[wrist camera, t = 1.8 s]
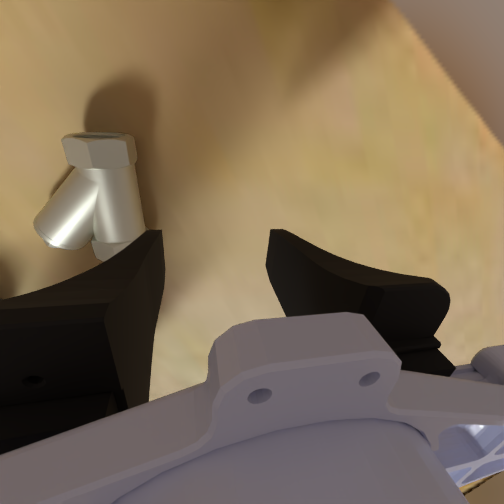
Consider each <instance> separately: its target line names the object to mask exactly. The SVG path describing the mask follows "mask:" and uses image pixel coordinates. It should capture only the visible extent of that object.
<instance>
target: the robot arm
mask: <svg viewBox="0 0 504 504" xmlns="http://www.w3.org/2000/svg"><path fill="white" fill-rule="evenodd" d="M266 269H267V273H268V276H269V280H270V282H271V285H272V287H273V289H274V291H275V294H276V296H277V298H278V300H279V302H280V304H281V306H282V308H283V311H284V313H285V315H286V317H282V318H271V319H259V320H252V321H249V322H245V323H242V324H238V325H234V326H232V327H231V328H230V329H228V330H227V331H226V332H225V333H223V334H222V335H221V336H219V337H218V338H217V339H216V340H215V341H214V343H213V346H212V348H211V351H210V353H209V356H208V375H207V379H206V381H205V382H203V383H200V384H197V385H195V386H192V387H189V388H186V389H183V390H181V391H178V392H175V393H172V394H169V395H167V396H164V397H161V398H158V399H155V400H153V401H150V402H149V389H150V376H151V364H152V353H153V343H154V334H155V328H156V323H157V319H158V314H159V309H160V305H161V300H162V295H163V290H164V282H165V260H164V248H163V237H162V230H146V231H145V232H144V233H143V234H141V235H140V236H139V237H138V238H137V239H135V240H134V241H133V242H132V243H130V244H129V245H128V246H127V247H125V248H124V249H123V250H121V251H120V252H118V253H117V254H115V255H114V256H113V257H111V258H110V259H108V260H106V261H105V262H103V263H101V264H99V265H98V266H96V267H94V268H92V269H90V270H88V271H86V272H84V273H81V274H79V275H77V276H75V277H72V278H70V279H68V280H65V281H63V282H60V283H58V284H55V285H52V286H49V287H46V288H43V289H40V290H37V291H34V292H31V293H27V294H24V295H20V296H16V297H12V298H9V299H5V300H1V301H0V504H469V503H468V501H467V500H466V498H465V497H464V495H463V494H462V492H461V491H460V489H459V487H461V486H464V485H466V484H469V483H471V482H474V481H477V480H479V479H482V478H484V477H487V476H490V475H492V474H495V473H498V472H500V471H503V470H504V345H498V346H491V347H486V348H483V349H482V350H480V351H479V352H478V353H477V354H476V355H475V356H474V357H473V359H472V360H471V364H466V365H459V366H454V365H453V364H452V363H451V362H450V361H449V360H448V359H447V358H446V357H445V356H444V355H443V354H442V353H441V352H440V351H439V350H438V349H437V348H440V346H441V343H440V342H439V341H438V340H437V339H436V338H435V337H434V334H435V332H436V331H437V329H438V328H439V326H440V324H441V323H442V321H443V319H444V318H445V316H446V314H447V312H448V310H449V306H450V296H449V293H448V292H447V291H446V289H445V288H443V287H442V286H441V285H439V284H438V283H437V282H435V281H434V280H432V279H430V278H425V277H418V276H411V275H404V274H398V273H393V272H388V271H384V270H379V269H375V268H371V267H368V266H365V265H361V264H358V263H355V262H352V261H349V260H346V259H344V258H341V257H338V256H336V255H333V254H331V253H329V252H327V251H325V250H323V249H320V248H318V247H317V246H315V245H313V244H311V243H309V242H307V241H305V240H303V239H302V238H300V237H298V236H296V235H294V234H292V233H290V232H288V231H286V230H284V229H271V230H270V237H269V244H268V251H267V258H266Z"/></svg>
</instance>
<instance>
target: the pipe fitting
mask: <svg viewBox="0 0 504 504" xmlns="http://www.w3.org/2000/svg"><path fill="white" fill-rule="evenodd" d="M61 141H62V144H63V147H64V151H65V154H66V158H67V161H68V164H70V165H72V166H75V168H74V169H73V171H72V172H71V173H70V174H69V176H68V177H67V178H66V179H65V181H64V182H63V183H62V184H61V186H60V187H59V188H58V189H57V191H56V192H55V193H54V194H53V196H52V197H51V198H50V200H49V201H48V202H47V203H46V205H45V206H44V207H43V208H42V210H41V211H40V212H39V213H38V215H37V216H36V217H35V219H34V221H33V225H34V228H35V230H36V232H37V233H38V234H39V236H40V237H41V238H43V240H44V242H45V243H46V245H47V246H49V247H52V248H62V249H66V250H78V249H81V248H82V247H84V246H85V245H86V244H87V242H88V241H89V240H90V239H91V238H92V237H93V238H92V240H91V243H92V247H93V250H94V254H95V257H96V258H97V259H99V260H101V261H103V262H105V261H106V260H108V259H110V258H111V257H113V256H114V255H115V254H117V253H118V252H120V251H121V250H123V249H124V248H125V247H127V246H128V245H129V244H130V243H132V242H133V241H134V240H135V239H137V238H138V237H139V236H140V235H141V234H143V233H144V232H145V231H146V230H149V228H147V227H145V223H144V217H143V211H142V205H141V199H140V193H139V187H138V182H137V176H136V170H135V163H136V161H137V159H138V157H137V151H136V145H135V139H134V137H133V136H131V135H129V134H125V133H115V132H82V133H72V134H68V135H66V136H64V137H63V138H62V139H61Z"/></svg>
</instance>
